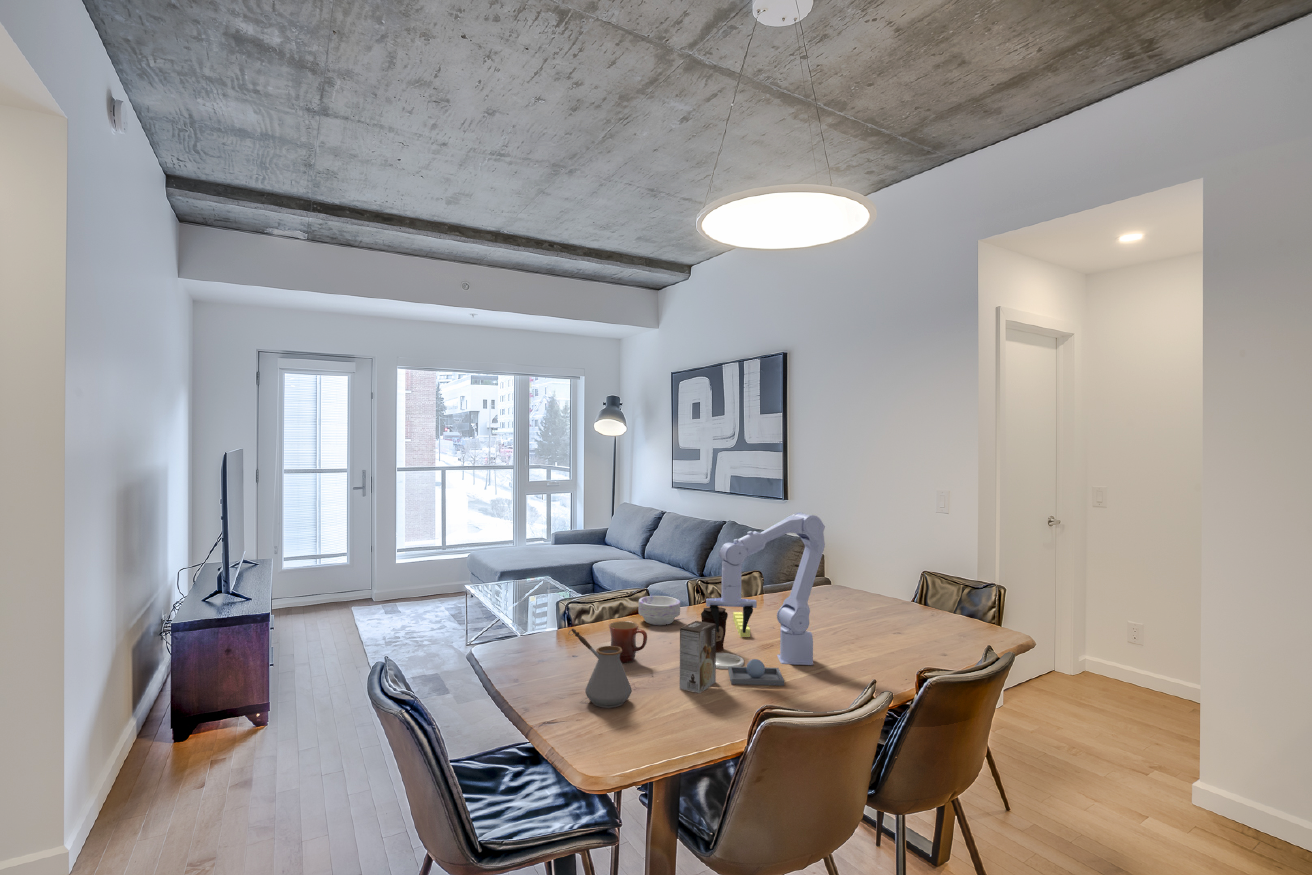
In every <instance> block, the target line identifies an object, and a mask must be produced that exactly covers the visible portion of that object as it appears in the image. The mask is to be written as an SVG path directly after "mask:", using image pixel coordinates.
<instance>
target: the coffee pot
mask: <svg viewBox="0 0 1312 875" xmlns="http://www.w3.org/2000/svg"><path fill="white" fill-rule="evenodd" d="M570 632H572V633H571V636H573V635H574V637H577V638H578V640H579V641H580V642H581V643H582V645H584V646H585V647H586V648H587V649H588V650H589V651H590V652H591V653H592V654H593V655H594V656H595V657H596V658H597V662H596V663H595V666H594V669H593V671H592V673H591V676H590V678H589V680H588V683H587V684H586V687H585V689H584V690H585V695H586V697H587V698H588V700H589V701H590V702H592V704H593V705H594V706H596V707H598V708H604V709H605V708H606V709H608V708H609V709H610V708H617V707H620V706H622V705H624V704H625V702H626V701H628V699H629V698H630V696H631V695H632V694H631V693H632V692H633V691H632V687H631V683H630V682H629V679H628V676H627V674H626V671H625V669H624V666H623V663H621V661H620V658H619V657H620V653H621V652H622V649H621V647H617V646H611V645H604V646H600V647H598V648H596V650H595V649H594V648H593V647H592V645H591V644H590V643H589V642H588V640H586V638H585V637H583V635H581V634H580V632H578V631H577V630H576V629H574V628H572V629H570V630H569V631H568V635H570Z"/></svg>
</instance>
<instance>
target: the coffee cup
mask: <svg viewBox="0 0 1312 875" xmlns="http://www.w3.org/2000/svg"><path fill="white" fill-rule="evenodd" d="M718 607H719V632H716V653H722V652H724V650H725V648H724V643H725V637H726V633H727V631H726V630H727V628H726V627H727V621H728V616H729V614H728V612H727V611H726V610H727V608H724V607H723V606H718ZM700 615H701V616H700V617H701V622H707V623H713V624H715V620H714V617H713V615H712V612H711V610H710V607H704V608H703V610H702V611H701V613H700Z"/></svg>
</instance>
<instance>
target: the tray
mask: <svg viewBox="0 0 1312 875" xmlns="http://www.w3.org/2000/svg"><path fill="white" fill-rule="evenodd" d="M746 667H747V666H741V667H733V666H728V669H727V671H728V676H729V680H730V684H731V685H738V686H739V685H741V686H772V687H773V686H774V687H775V686H776V687H785V678H784V677H783V675H782V672H781V671H780V668H779V667H767V666H766V667H765V666H764V667H765V672H764V674H763V676H761V677H760V678H752V677H751V676H749V674H748V673H747V669H746Z"/></svg>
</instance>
